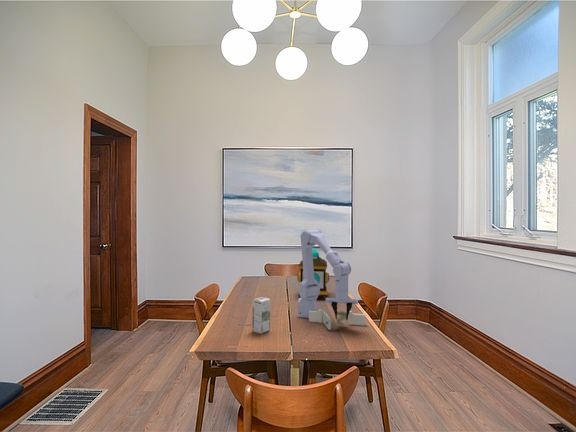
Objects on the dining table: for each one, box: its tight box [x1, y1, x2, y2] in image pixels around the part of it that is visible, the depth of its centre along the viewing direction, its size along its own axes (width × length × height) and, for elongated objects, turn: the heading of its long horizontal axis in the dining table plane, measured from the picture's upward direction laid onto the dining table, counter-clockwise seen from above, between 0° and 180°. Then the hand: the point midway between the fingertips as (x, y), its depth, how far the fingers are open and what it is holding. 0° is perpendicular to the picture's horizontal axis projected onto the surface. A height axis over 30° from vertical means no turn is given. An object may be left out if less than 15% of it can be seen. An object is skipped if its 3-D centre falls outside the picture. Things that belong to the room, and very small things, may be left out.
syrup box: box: [251, 296, 271, 335], centre depth 151 cm, size 6×6×14 cm
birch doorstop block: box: [336, 309, 347, 327], centre depth 154 cm, size 4×8×4 cm, turn 168°
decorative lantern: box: [296, 248, 331, 301], centre depth 210 cm, size 20×20×30 cm
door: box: [322, 310, 332, 331], centre depth 157 cm, size 11×2×5 cm, turn 8°
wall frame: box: [308, 308, 366, 326], centre depth 161 cm, size 27×2×6 cm, turn 78°
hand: (341, 318), depth 154 cm, fingers closed on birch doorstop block, 4 cm apart
